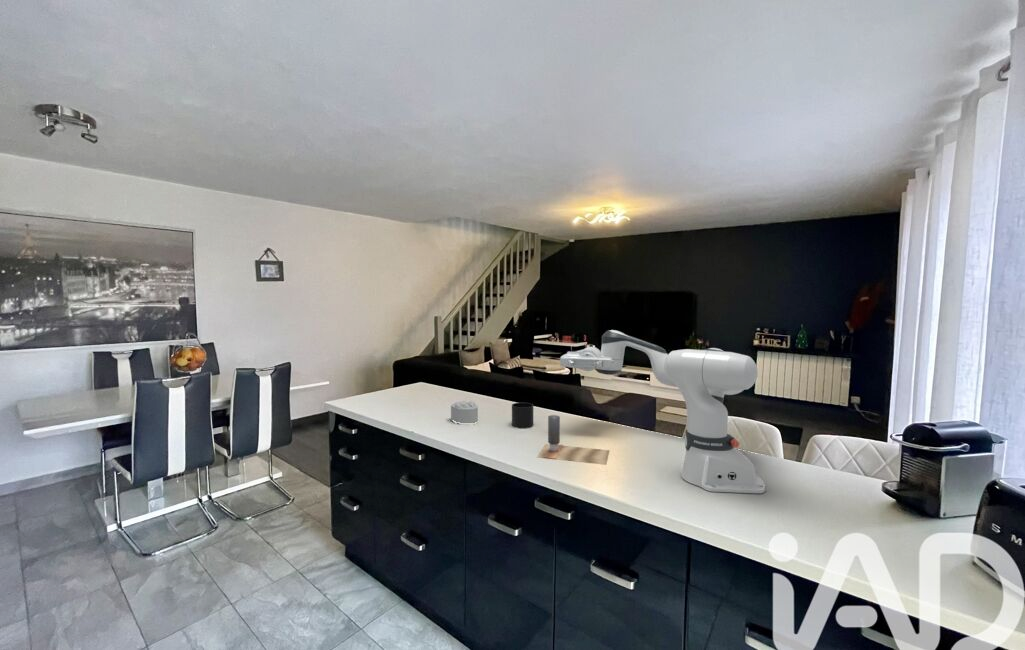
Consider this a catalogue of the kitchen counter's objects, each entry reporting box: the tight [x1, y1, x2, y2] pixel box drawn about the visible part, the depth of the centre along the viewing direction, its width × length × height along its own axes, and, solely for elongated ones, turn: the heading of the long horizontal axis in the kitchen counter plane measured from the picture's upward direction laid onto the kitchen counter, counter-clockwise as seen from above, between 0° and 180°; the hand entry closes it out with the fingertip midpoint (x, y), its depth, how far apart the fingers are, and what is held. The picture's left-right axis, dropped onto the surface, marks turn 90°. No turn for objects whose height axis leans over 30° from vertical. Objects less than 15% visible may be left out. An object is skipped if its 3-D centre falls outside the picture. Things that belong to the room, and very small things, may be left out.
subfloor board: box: [536, 443, 610, 466], centre depth 147 cm, size 23×14×2 cm, turn 73°
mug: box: [511, 401, 534, 429], centre depth 187 cm, size 9×12×9 cm
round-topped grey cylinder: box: [547, 414, 561, 452], centre depth 148 cm, size 4×4×12 cm
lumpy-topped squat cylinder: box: [450, 400, 479, 423], centre depth 193 cm, size 10×13×9 cm
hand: (583, 364), depth 161 cm, fingers open, 8 cm apart
